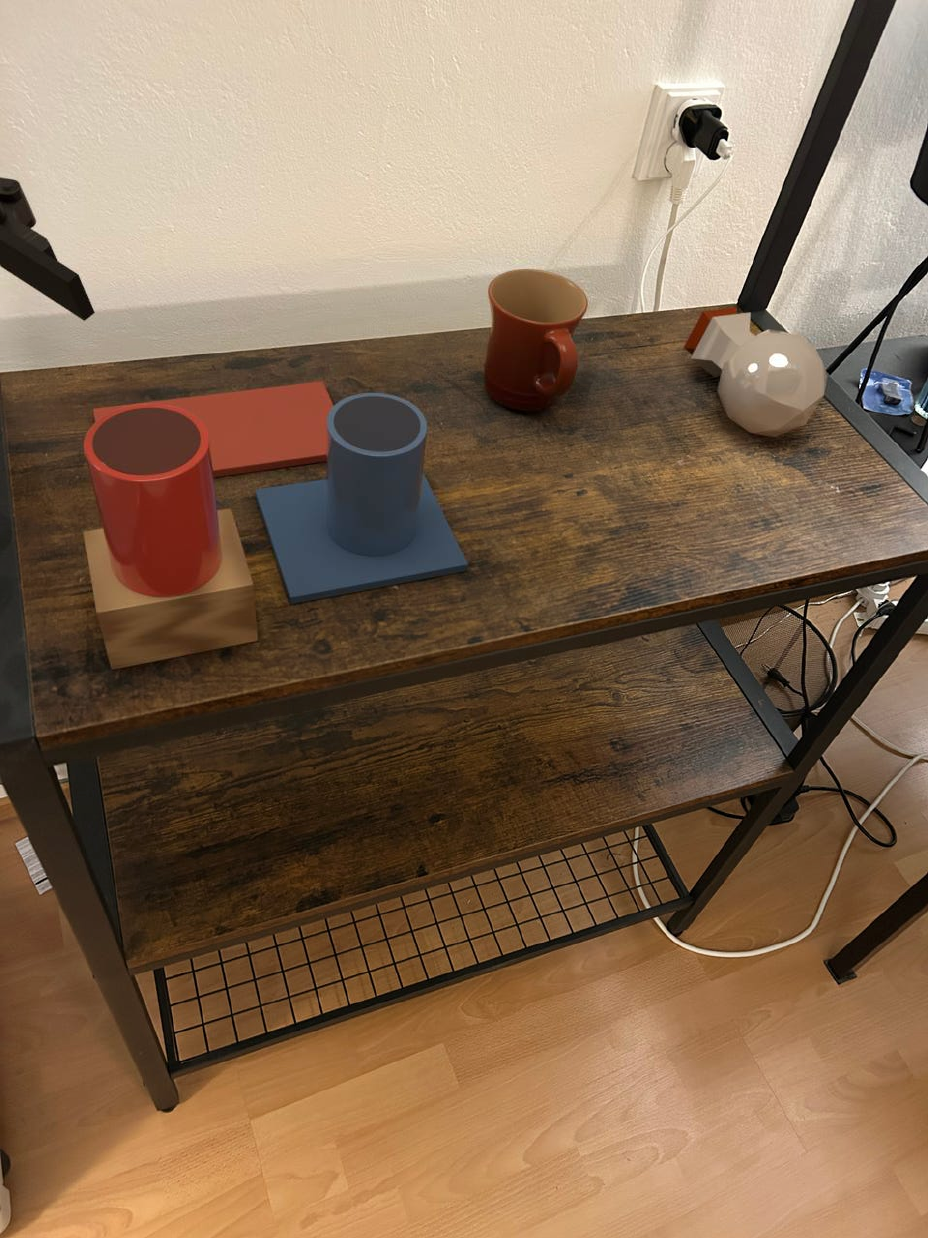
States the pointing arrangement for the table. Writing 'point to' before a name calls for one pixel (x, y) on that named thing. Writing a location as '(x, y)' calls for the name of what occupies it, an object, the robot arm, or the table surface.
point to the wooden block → (174, 607)
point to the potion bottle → (758, 372)
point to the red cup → (155, 497)
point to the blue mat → (330, 569)
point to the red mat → (259, 426)
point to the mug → (532, 338)
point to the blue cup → (374, 473)
